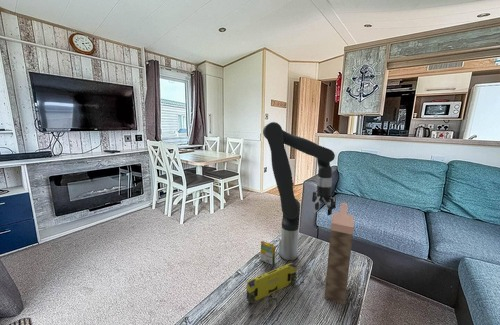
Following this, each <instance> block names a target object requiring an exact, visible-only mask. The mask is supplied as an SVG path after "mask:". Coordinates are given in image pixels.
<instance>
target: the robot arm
mask: <svg viewBox="0 0 500 325" xmlns="http://www.w3.org/2000/svg"><path fill="white" fill-rule="evenodd" d="M262 134H263V137H264V138H265V139H266V141H267V143H268V145H269V148H270V153H271V154H270V156H271V160H270V161H271V167H272V168H271V169H272V171H273V177H274V180H275V183H276V187H277V189H278V193H279V199H280V207H281V212H282V218H281V232H280V234H281V235H280V238H279V243H278V255H279V256H280V257H281V258H282V259H284V260H285V261H294V260H296V259H297V258H298V257H297V256H298V243H299V231H300V230H299V227H300V218H301V217H300V214H301V204H300V201H299V200H298V199H297V198H296V197H295V194H294V183H293V174H292V168H291V164H290V161H289V158H288V155H287V154H288V153H287V151H286V147H285V145H286V146H289V147H291V148H292V149H295V150H297V151H299V152H302V153H303V154H306V155H308V156H311V157H314V158H316V160H317V161H316V162H317V168H318V170H317V172H318V173H317V180H316V181H317V182H316V191H313V192H312V199H311V202H314V209H315V211H318V210H319V209H320V203H322V204H325V206H326V208H327V212H326V213H327V214H326V215H327V216H332V215H333V213H332V212H333V210H334V209H336V208H337V207H336V203H337V202H336V201H337V199H336V197H331V194H332V186H333V183H332V181H333V179H332V177H333V176H332V175H333V174H332V173H333V169H332V166H331V164H330V163H331V162H332V161H334V159H335V158H336V155H335V154H336V153H335V152H334V150H332V149H329V148H327V147H325V146H322V145H319V144H318V143H316V142H314V141H311V140H309V139H306V138H304V137H301V136H298V135H295V134H292V133H289V132H287V131H285V130H284V129H283V128H282V126H281V125H280V124H279V123H278V122H275V121H272V122H268V123H267V124H265V126H264V127H263V130H262Z"/></svg>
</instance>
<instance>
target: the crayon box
mask: <svg viewBox="0 0 500 325" xmlns="http://www.w3.org/2000/svg"><path fill="white" fill-rule="evenodd" d="M259 259H260V261H262V262H265V263H267V264H270V265H271V266H273V264H274V263H275V261H276V245H275V244H274V243H273V244H272V243H270V242H267V241H263V240H260V258H259Z"/></svg>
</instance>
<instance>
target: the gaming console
mask: <svg viewBox="0 0 500 325" xmlns="http://www.w3.org/2000/svg"><path fill="white" fill-rule="evenodd" d="M296 279H297V265H296V264H294V263H293V262H289V263H286V264H284V265H282V266H279V267H278V268H275V269H273V270H270V271H268V272H266V273H263V274H261V275H259V276H256V277H254V278H251V279H249V280H248V281H247V282H246V300H247V302H248V303H249V304H255V303H256V302H257V301H259V300H261V299H263V298H265V297H267V296H269V295H271V294H273V293H275V292H278V291H279V290H281V289H283V288H286V287H287V286H291V285H293V284H295V283H296Z"/></svg>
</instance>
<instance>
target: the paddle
mask: <svg viewBox="0 0 500 325" xmlns="http://www.w3.org/2000/svg"><path fill="white" fill-rule="evenodd" d="M332 212H333V213H332V218H331V224H330V231H331V230H333V231H338V232H342V233H347V234H352V235H353V236H354V230H355V229H354V228H355V227H354V226H355V225H354V224H355V223H354V215H353V214H348V203H346V202H340V207H339V212H336V211H332Z"/></svg>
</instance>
